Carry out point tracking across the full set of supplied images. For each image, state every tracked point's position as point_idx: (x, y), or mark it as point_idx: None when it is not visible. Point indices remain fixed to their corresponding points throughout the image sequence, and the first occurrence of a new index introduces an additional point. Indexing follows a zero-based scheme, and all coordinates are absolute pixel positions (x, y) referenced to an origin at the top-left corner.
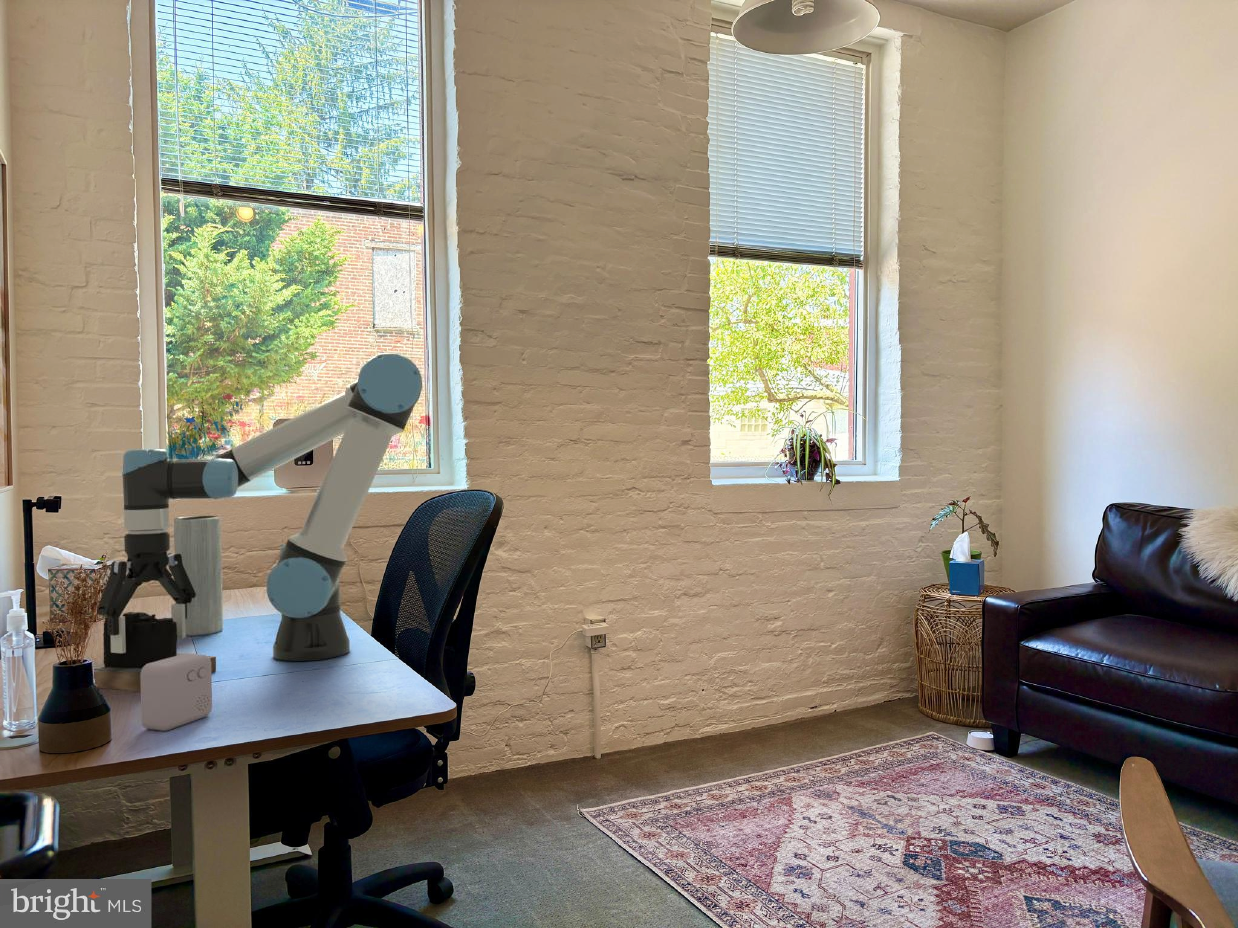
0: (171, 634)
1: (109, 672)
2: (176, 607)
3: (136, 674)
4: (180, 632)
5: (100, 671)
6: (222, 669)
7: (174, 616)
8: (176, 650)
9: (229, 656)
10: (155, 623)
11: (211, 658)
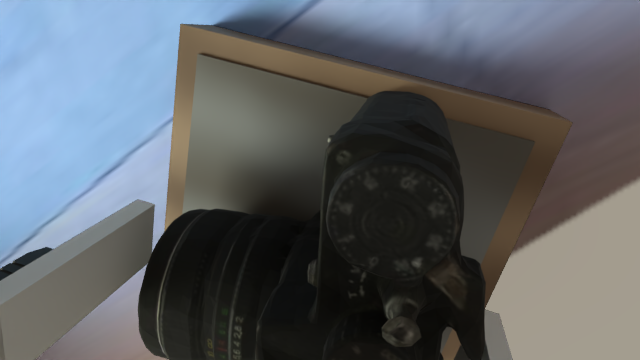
0: (412, 123)
1: None
2: (26, 329)
3: (519, 192)
4: (137, 226)
5: (457, 347)
6: (185, 14)
7: (76, 305)
8: (368, 103)
9: (31, 106)
10: (454, 256)
11: (205, 30)
